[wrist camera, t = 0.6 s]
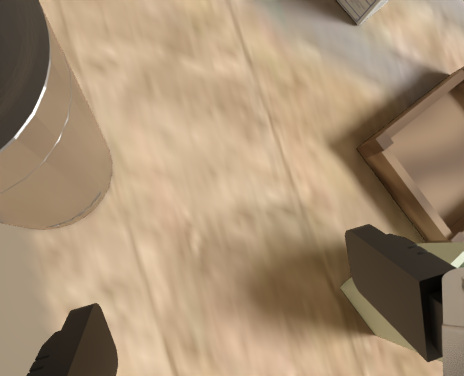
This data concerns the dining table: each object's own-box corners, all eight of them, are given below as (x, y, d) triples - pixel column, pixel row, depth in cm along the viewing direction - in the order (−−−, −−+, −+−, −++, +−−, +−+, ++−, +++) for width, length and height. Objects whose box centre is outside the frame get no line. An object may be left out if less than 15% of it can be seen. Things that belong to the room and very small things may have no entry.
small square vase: (338, 288, 31) (410, 304, 22) (388, 242, 32) (474, 240, 24) (373, 336, 31) (459, 371, 22) (422, 288, 32) (520, 303, 24)
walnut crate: (356, 148, 33) (375, 138, 30) (450, 74, 37) (475, 59, 34) (433, 251, 33) (459, 251, 30) (520, 167, 37) (551, 160, 34)
